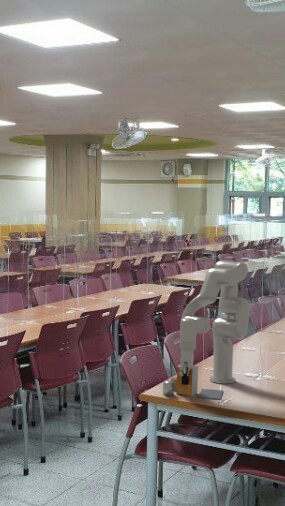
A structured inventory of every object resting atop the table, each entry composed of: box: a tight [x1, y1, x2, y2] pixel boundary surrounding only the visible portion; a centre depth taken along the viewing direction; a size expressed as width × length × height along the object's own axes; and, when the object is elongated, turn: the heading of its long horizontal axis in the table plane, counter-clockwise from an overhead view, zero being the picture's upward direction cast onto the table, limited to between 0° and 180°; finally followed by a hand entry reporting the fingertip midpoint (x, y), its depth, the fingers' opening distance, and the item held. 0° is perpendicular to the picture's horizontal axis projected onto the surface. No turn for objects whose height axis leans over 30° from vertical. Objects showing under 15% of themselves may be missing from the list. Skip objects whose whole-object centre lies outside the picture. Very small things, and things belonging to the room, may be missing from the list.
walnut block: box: [170, 376, 177, 391], centre depth 308 cm, size 5×5×5 cm
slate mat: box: [197, 388, 224, 401], centre depth 299 cm, size 14×10×1 cm
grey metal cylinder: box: [162, 379, 175, 397], centre depth 298 cm, size 5×5×6 cm
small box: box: [175, 364, 199, 397], centre depth 300 cm, size 8×6×13 cm
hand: (186, 382), depth 299 cm, fingers open, 9 cm apart
